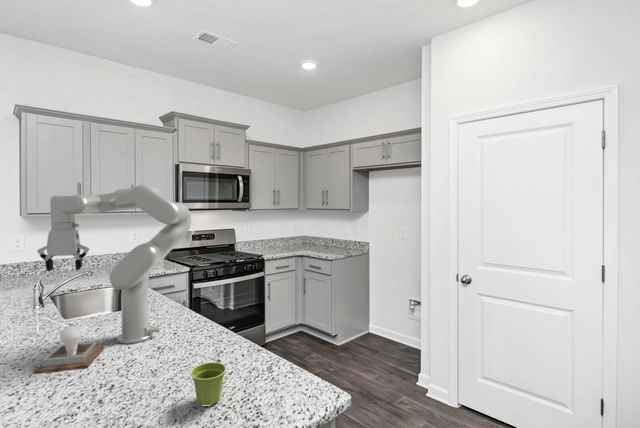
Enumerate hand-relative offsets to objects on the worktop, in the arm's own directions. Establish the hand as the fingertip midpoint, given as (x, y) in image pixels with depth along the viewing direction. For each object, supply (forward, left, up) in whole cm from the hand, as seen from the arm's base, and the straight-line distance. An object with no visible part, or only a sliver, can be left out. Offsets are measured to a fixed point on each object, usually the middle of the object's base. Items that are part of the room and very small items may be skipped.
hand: (64, 269), depth 133 cm
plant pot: (-58, +57, -29) cm, 86 cm away
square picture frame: (-10, +20, -28) cm, 36 cm away
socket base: (-10, +20, -28) cm, 36 cm away
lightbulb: (-10, +20, -28) cm, 35 cm away
